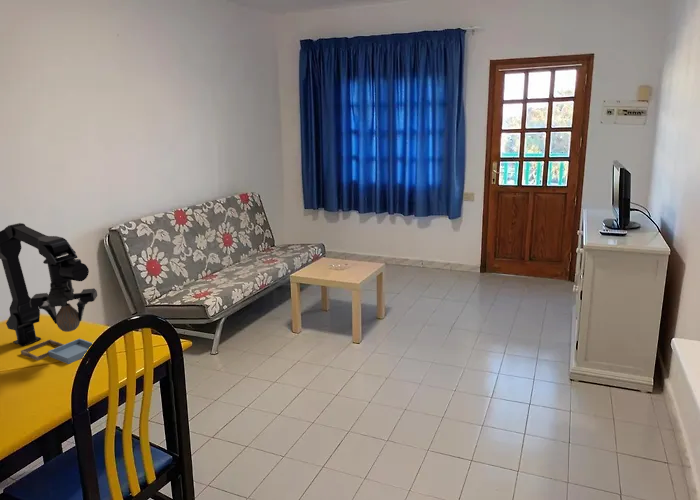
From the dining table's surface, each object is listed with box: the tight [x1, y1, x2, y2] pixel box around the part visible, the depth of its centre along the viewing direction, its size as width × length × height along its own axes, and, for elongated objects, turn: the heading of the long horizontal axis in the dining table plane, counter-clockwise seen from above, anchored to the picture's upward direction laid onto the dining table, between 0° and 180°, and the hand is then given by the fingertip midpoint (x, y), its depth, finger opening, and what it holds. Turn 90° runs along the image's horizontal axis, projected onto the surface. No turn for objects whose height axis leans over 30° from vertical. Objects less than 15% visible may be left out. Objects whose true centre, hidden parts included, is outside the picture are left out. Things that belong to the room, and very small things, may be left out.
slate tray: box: [47, 337, 93, 365], centre depth 174 cm, size 11×11×2 cm
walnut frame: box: [20, 339, 65, 361], centre depth 176 cm, size 10×10×1 cm
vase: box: [56, 302, 81, 333], centre depth 170 cm, size 7×7×9 cm
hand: (68, 322), depth 171 cm, fingers closed on vase, 7 cm apart
